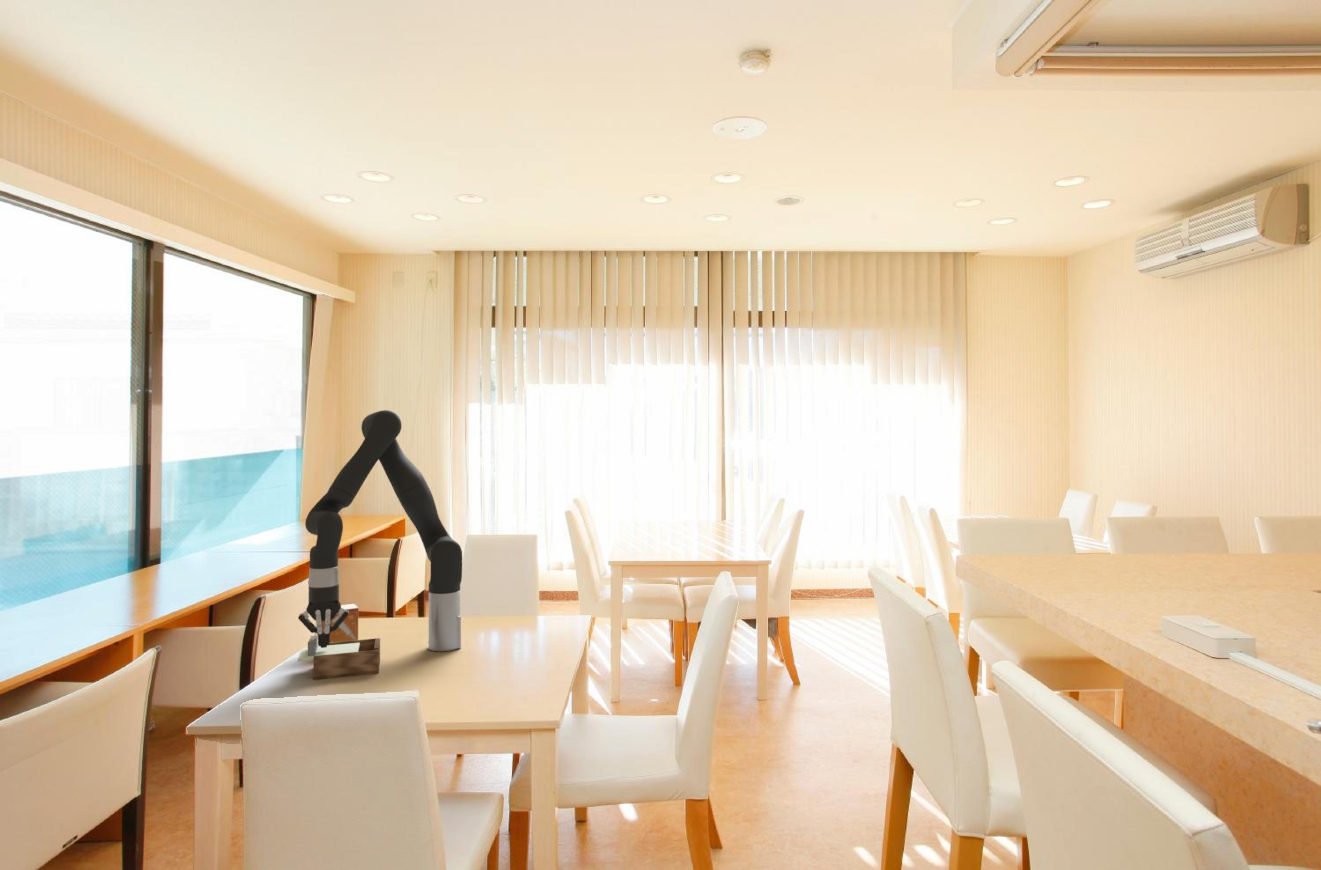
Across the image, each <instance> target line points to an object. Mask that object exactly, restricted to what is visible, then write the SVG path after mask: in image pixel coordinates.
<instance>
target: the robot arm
mask: <svg viewBox="0 0 1321 870" xmlns="http://www.w3.org/2000/svg"><path fill="white" fill-rule="evenodd" d="M401 430H402V420H401V418H400V416H399V415H398V414H397V413H396V412H394V411H393V410H390V409H389V410H387V409H385V410H379V411H376V412H373V413H370V414H368V415H366V416H365V417H364V418H363V420H362V422H361V432H362V436H363V437H364V439H363V441H362V443H361V444H360V446H359V448H358V449H357V450H356V452H355V453H354V454H353V456H352V457H350V459H349V460H348V461H347V463H345V465H344V466H343V467H342V468H341V469H340V471H339V472H338V473H337V475H336V477H335V479H334V480H333V482H332V483H331V484H330V486H329V488H328V490H327V492H326V493H325V494H324V495H323V496H322V497H321V498H320V499H319V500H318V501H317V502H316V504H314V506H313V507H312V508H311V509H310V510H309V512H308V514H307V516H306V518H305V529H306V531H307V532H308V533H310V534H312V535H313V536H316V543H315V545H313V546H312V547H311V549H309V572H308V581H307V583H308V584H307V585H308V605H307V607H306V608H305V609H306V610H304V611H303V612H302V613H301V612H300V614H299V615H298V617H297V619H298V620H299V621H300V622H301V623H302V624H303V625H304V627H306V629H307V630H308V631H309V632H310V633H312V634H313V633H315V634H317V646H321V648H325V647H327V645H329V643H330V632H332V631H335V630H336V629H337V628H338V627H339V626H340V624H341V623H342V622H343V621H344V619H345V618H346V617H347V616H348V613H349V611H348V610H345V609H343V608H341V605H342V604H341V603H340V571H339V547H340V545H341V541H342V536H343V531H344V525H343V523H344V522H343V519H342V516H341V515H340V514H339V513H340V512H341V510H343V509H345V508H348V507H349V506H350V505H351V504H352V503H353V502H354V500H355V498H356V496H357V494H358V493H359V491H360V490H361V488H362V487H363V485H364V483H365V481H366V479H367V478H368V476H369V474H371V472H372V469H373V468H374V466H375V465H376V463H377V462H378V461H379V463H380V465H381V467H382V468H383V471H384V473H385V475H386V477H387V479H388V480H389V481H388V482H389V483H390V485H391V487H392V489H393V491H394V493H395V495H396V497H397V500H398V501H399V503H400V505H401V507H402V509H403V510H404V512H405V514H406V515H407V517H408V518H409V520H410V521H411V523H412V525H414V527H415V529H416V531H417V533H418V535H419V538H420V540H421V542H422V544H423V548H424V550H425V554H426V557H427V558H428V560H429V562H430V575H429V576H430V579H429V581H428V650H430V651H433V652H449V651H453V650H457V649H461V648H462V616H461V583H462V580H463V579H462V578H463V551H462V548H461V546H460V544H459V543H458V541H455V540H454V539H453V538H452V537H451V536H450V534H449V532H448V531H447V530H446V528H445V526H444V524H443V523H442V521H441V519H440V515H439V514H438V509H437V506H436V503H435V500H434V496H433V494H432V491H431V489H430V487H429V484H428V483H427V481H426V478H425V477H424V475H423V474H422V472H421V471H420V470H419V469H418V468H417V467H416V465H414V463H413V462H412V461H411V460H410V459H409V458H408V457H407V456H406V455H405V453H404V451H403V450H402V448H401V447H400V444H399V442H398V439H397V438H398V436H400V433H401ZM338 611H339V612H340V613H339V618H338V620H337V621H336V622H335V623H334V625H333V626H330V625H331V620H332V619H333V618H334V617H335V615H336V614H337V613H338ZM309 617H311V618H312V620H313V621H315V622H316V626H315V624H314V623H313V622H312V621H311V620H310V619H309Z"/></svg>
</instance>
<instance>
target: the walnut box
mask: <svg viewBox="0 0 1321 870" xmlns="http://www.w3.org/2000/svg"><path fill="white" fill-rule="evenodd" d="M349 643H360V646H359V651H358V652H350V653H340V654H329V655H318V656H314V660H313V680H325V679H333V678H343V677H345V678H346V677H353V676H354V677H355V676H362V675H373V674H374V675H375V674H379V672H380V666H381V665H380V664H381V638H379V637H377V638H369V639H368V638H367V639H358V640H353V641H342V642H331V643H329V645H338V644H349Z"/></svg>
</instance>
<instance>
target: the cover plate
mask: <svg viewBox="0 0 1321 870" xmlns="http://www.w3.org/2000/svg"><path fill="white" fill-rule="evenodd" d="M359 646H360V643H349V644H338V645H327V647H325V648H321V646H319V645H318V635H311V636H310V637H309V640H308V642H307V646H306V647H302V649H301V651H300V654H299V656H298V657H297V662H307V661H314V656H318V655H329V654H340V653H350V652H358V651H359Z"/></svg>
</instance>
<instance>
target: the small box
mask: <svg viewBox="0 0 1321 870" xmlns="http://www.w3.org/2000/svg"><path fill="white" fill-rule="evenodd" d="M341 608H343V609H345V610H348V611H349V613H348V616H347V617H346V618H345V619H344V621H343V622H342V623H341V624H340V626H339V627H338V628H337V629H336V630H335V631H332V632H330V643H331V642H342V641H353V640H359V607H358V605H356V603H351V604H350V603H349V604H341ZM339 613H340V612H339V611H338V613H337V614H336V615H335V617H334V618H333V619H332V620H331V625H330V626H333V625H334V623H335V622H336V621H337V620H338V618H339Z"/></svg>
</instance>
